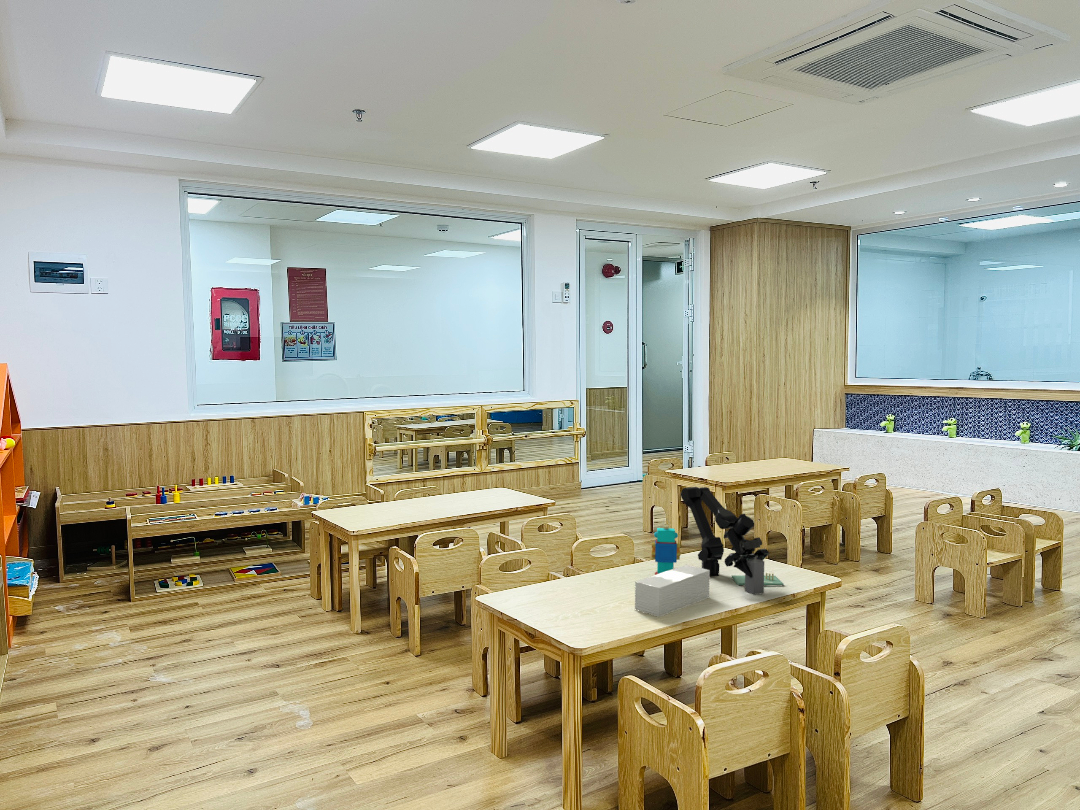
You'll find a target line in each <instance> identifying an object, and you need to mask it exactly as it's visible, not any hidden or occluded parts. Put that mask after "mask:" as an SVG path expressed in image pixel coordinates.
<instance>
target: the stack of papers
mask: <svg viewBox="0 0 1080 810" xmlns="http://www.w3.org/2000/svg"><path fill="white" fill-rule="evenodd" d="M709 572H710V570H707V569H703V568H702V567H698V566H693V565H690V564H684V565H681V566H677V567H675V568H673V569H671V570H668V571H665V572H662V573H659V574H656V575H655V574H654V575H651V576H646V577H644V578H642V579H638V580H636V581H634V582H635V583H634V586H635V587H634V610H635V609H636V610H639V611H638V612H640V611H642V612H641V613H643V612H645V613H644V614H646V613H649V614H648V615H650V614H652V615H651V616H653V615H655V616H654V617H656V616H658V618H660V617H659V616H661V617H663V616H665V614H666V615H668V614H671V613H672V611H673V612H676V611H678V610H680V608H681V609H683V608H685V607H688V606H691V605H693V604H695V603H698V602H702V601H704V600H706V599H708V597H709V598H710V580H711V579H710V577H711V576H709V575H710V573H709ZM703 599H704V600H703ZM636 610H635V611H636ZM675 610H676V611H675ZM670 612H671V613H670ZM667 613H668V614H667ZM662 615H663V616H662Z"/></svg>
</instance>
